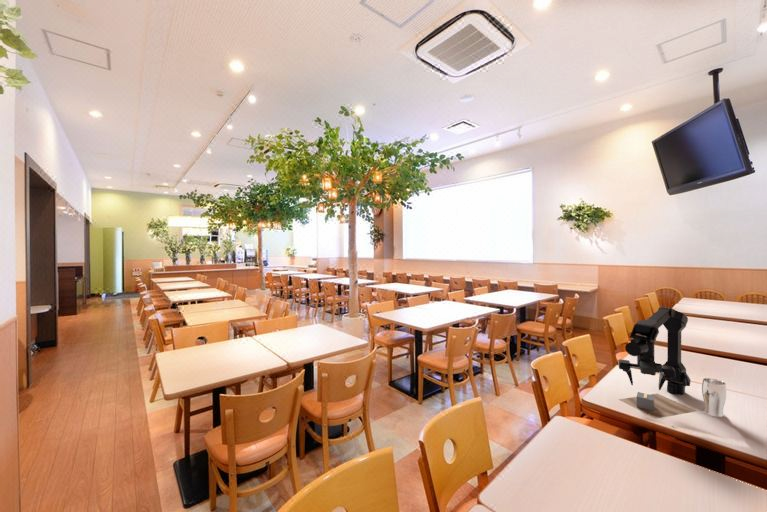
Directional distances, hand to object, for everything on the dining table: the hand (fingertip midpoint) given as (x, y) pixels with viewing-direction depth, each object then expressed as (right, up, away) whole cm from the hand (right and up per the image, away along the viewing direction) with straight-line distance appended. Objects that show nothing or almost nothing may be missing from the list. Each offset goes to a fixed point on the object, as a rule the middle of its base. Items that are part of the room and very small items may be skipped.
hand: (645, 387), depth 137 cm
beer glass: (+23, -10, -6) cm, 26 cm away
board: (+6, -10, +1) cm, 11 cm away
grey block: (0, -8, 0) cm, 8 cm away
